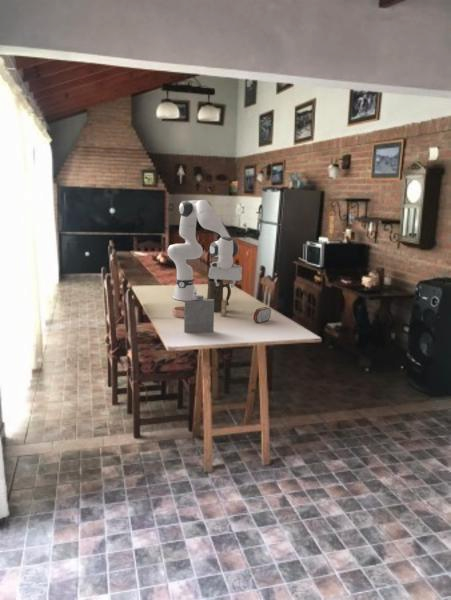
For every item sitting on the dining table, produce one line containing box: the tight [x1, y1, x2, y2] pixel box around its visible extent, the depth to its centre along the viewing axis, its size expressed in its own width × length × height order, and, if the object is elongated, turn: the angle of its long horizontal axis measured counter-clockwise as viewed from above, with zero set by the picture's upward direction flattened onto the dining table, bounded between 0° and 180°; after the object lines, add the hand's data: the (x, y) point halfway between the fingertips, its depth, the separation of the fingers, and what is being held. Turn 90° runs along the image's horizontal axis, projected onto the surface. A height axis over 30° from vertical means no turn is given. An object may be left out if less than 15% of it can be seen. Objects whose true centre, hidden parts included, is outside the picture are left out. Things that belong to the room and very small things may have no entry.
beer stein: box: [206, 278, 232, 313], centre depth 319 cm, size 15×11×20 cm
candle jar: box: [171, 305, 185, 319], centre depth 304 cm, size 13×13×4 cm
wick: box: [220, 298, 228, 318], centre depth 304 cm, size 4×2×10 cm, turn 164°
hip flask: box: [183, 294, 215, 334], centre depth 266 cm, size 16×4×20 cm, turn 103°
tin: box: [252, 306, 272, 324], centre depth 294 cm, size 15×3×8 cm, turn 141°
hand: (224, 286), depth 301 cm, fingers open, 8 cm apart
